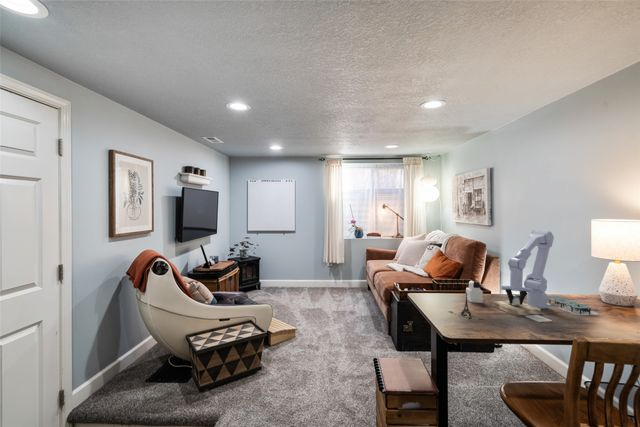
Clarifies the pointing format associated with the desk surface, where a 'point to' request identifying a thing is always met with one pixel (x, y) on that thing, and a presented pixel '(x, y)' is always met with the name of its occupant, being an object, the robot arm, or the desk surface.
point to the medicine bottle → (474, 292)
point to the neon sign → (574, 307)
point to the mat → (538, 318)
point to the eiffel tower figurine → (464, 311)
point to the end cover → (516, 300)
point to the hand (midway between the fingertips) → (515, 303)
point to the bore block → (516, 308)
